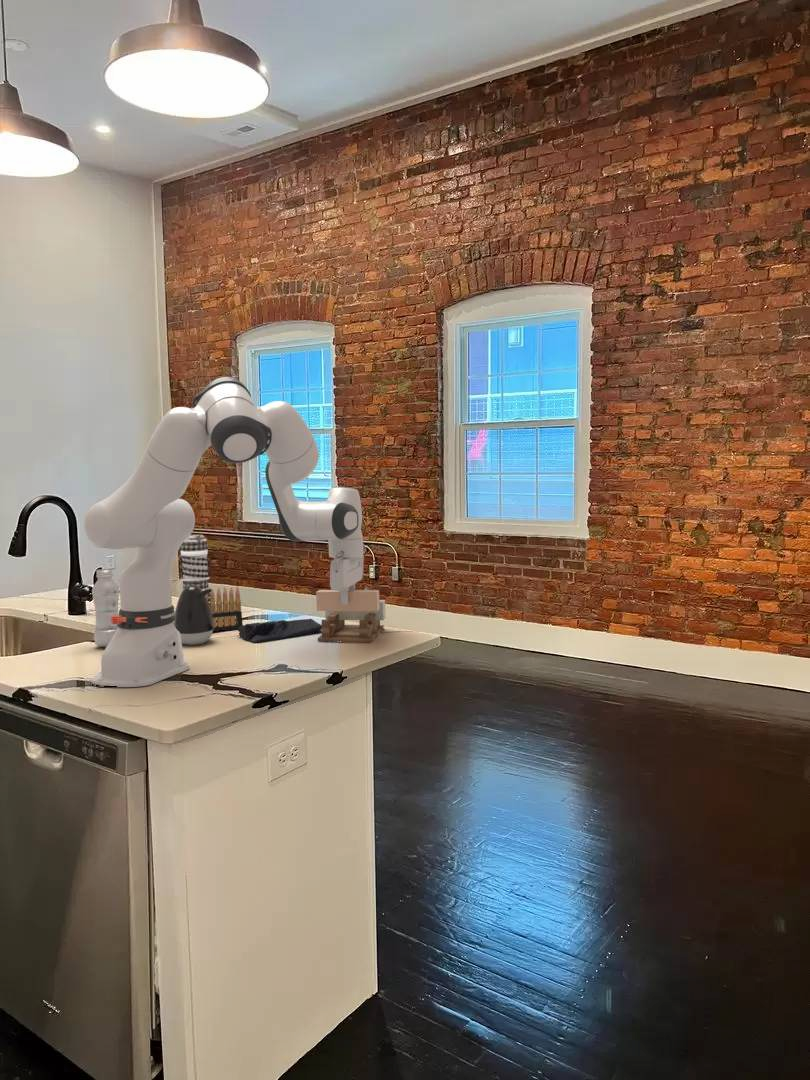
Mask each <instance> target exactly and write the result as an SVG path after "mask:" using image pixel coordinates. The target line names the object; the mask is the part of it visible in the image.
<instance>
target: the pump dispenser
mask: <svg viewBox="0 0 810 1080" xmlns="http://www.w3.org/2000/svg"><path fill="white" fill-rule="evenodd" d="M211 589H212V588H210V587H209V589H206V590H203V591H202V589H201V588H200V587H198V586H195V585H190V586H187V587H186V588H184V590H183V589H182V591H181V593H180V595H179V597H178V600H177V604H176V606H175V609H174V611H175V621H174V622H173V623H174V625H175V627H176V629H177V630H178V631H179V632H180V635H181V642H182V645H186V646H198V644H199V645H202V644H206V643H207V642H208V641H209V640H210V639H211V638H212V636H213V629H214V620H213V615H212V611H211V608H210V605H209V603H210V602H208V600H207V597H206V595H207V594H209V593H210V592H212V590H211Z"/></svg>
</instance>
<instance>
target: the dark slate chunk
mask: <svg viewBox="0 0 810 1080" xmlns="http://www.w3.org/2000/svg"><path fill="white" fill-rule="evenodd" d="M237 631H238V632H239V633H238V634H239V635H240V636H239V635H238V636H239V638H240V639H241V638H242V639H241V640H242V641H245V642H248V643H249V642H250V643H254V644H261V643H263V642H272V641H278V640H284V639H289V638H295V637H301V636H300V635H302V636H307V635H306V634H308V635H311V634H310V633H312V634H314V633H313V632H316V633H318V632H319V631H322V623H319V622H317V621H315V620H314V619H312V618H306V619H304V618H303V619H293V620H285V619H281V620H275V621H273V620H271V621H267V622H263V623H261V622H254V623H246V624H244V625H243V626H241V627H239V628H238V629H237ZM317 631H318V632H317Z"/></svg>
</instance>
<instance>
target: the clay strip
mask: <svg viewBox="0 0 810 1080" xmlns="http://www.w3.org/2000/svg"><path fill="white" fill-rule="evenodd" d="M315 594H316V595H315V597H316V611H317V612H325V611H378V610H379V609H380V604H379V600H380V590H379V589H370V590H369V589H355V590H349V591H348V596H349V601H350V602H349V604H347V605H343V604H342V603H341V596H340V592H339V591H333V590H331V589H318V590H317V591H315Z"/></svg>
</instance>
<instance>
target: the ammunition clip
mask: <svg viewBox="0 0 810 1080" xmlns="http://www.w3.org/2000/svg"><path fill="white" fill-rule="evenodd" d="M210 589H211V590H212V592H210V597H209V598H210V602H209V603H210V608H211V611H212V615H213V620H214V629H213V631H216V632H220V631H219V630H226V631H231V630H230V629H236V630H238V628H239V627H241V626H244V625H243V624H244V623H243V614H242V613H243V612H242V600H241V593H240V589H239V586H236V587H235V593H234V591H233V587H232V586H230V588H229V593H228V592H227V589H226V587H223V589H222V595H221V590H220V588H219V587H218V588H217V591H216V598H215V592H214V590H213V589H214V588H210ZM205 590H206V589H205ZM234 594H235V597H234ZM206 597H207V600H208V594H207V595H206ZM228 597H229V598H228Z"/></svg>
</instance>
